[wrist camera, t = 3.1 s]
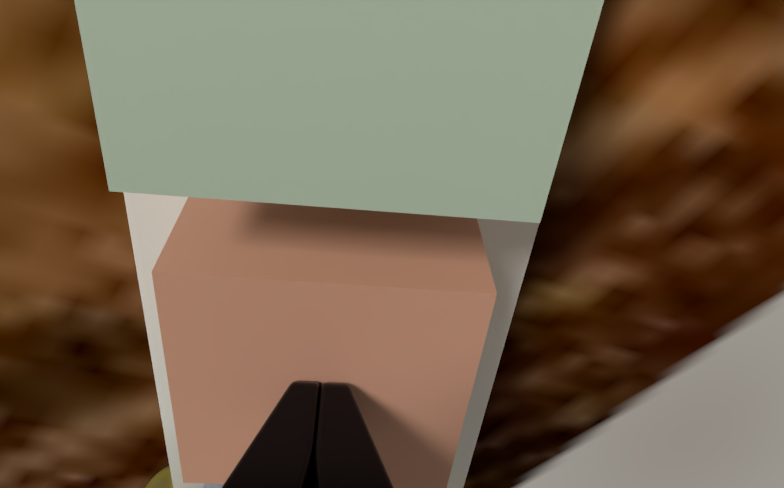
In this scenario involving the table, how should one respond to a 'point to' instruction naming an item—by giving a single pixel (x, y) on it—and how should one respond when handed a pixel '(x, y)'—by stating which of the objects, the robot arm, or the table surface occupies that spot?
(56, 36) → the table surface
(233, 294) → the salmon block
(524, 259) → the button board
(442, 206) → the sage button
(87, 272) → the table surface
